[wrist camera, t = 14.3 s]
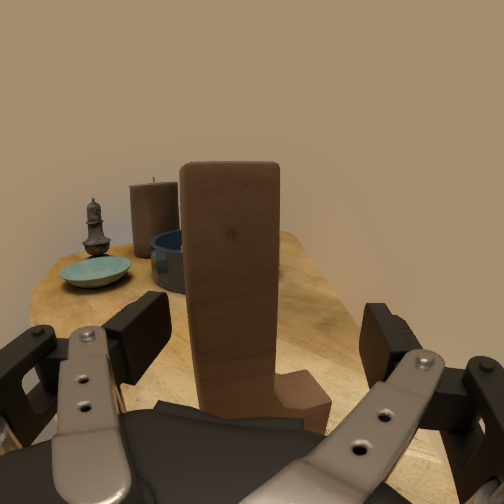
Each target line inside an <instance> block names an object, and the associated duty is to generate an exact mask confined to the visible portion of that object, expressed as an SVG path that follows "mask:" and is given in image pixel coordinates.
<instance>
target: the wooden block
mask: <svg viewBox="0 0 504 504" xmlns="http://www.w3.org/2000/svg"><path fill="white" fill-rule="evenodd" d="M179 174H180V209H181V233H182V251H183V266H184V280H185V292H186V304H187V314H188V324H189V333H190V342H191V351H192V359H193V367H194V374H195V382H196V389H197V396H198V402H199V409H200V410H201V411H204V412H206V413H209V414H212V415H215V416H218V417H220V418H224V419H240V418H253V417H265V416H269V417H284V418H304V429H307V430H311V431H314V432H317V433H320V434H322V435H324V434H325V430H326V426H327V422H328V418H329V413H330V409H331V404H332V401H331V399H330V397H329V396H328V395H327V394H326V393H325V391H324V390H323V389H322V388H321V386H320V385H319V384H318V383H317V381H316V380H315V379H314V378H313V376H312V375H311V374H310V373H309V371H308V370H301V371H297V372H292V373H288V374H283V375H281V374H276V373H275V361H276V337H277V310H278V277H279V226H280V224H279V223H280V222H279V221H280V167H279V164H278V163H275V162H263V161H262V162H260V161H213V162H212V161H211V162H190V163H187V164H185V165H184V166H182V167H181V169H180V172H179Z"/></svg>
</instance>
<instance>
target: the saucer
mask: <svg viewBox="0 0 504 504" xmlns="http://www.w3.org/2000/svg"><path fill="white" fill-rule="evenodd" d="M131 264H132V262H131V260H129V259H127V258H123V257H112V256H111V257H98V258H92V259H87V260H83V261H79V262H76V263H73V264H71V265H69V266H67V267H65V268H64V269H62V270H61V272H60V276H61V277H62V278H63V279H64V280H66V281H67V282H69V283H71V284H73V285H75V286H78V287H82V288H97V287H102V286H106V285H109V284H111V283H113V282H115V281H116V280H118V279H119V278H120V277H122V276H123V275H124V274H125V273H126V271H127V270H128V269H129V267H130V266H131Z"/></svg>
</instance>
